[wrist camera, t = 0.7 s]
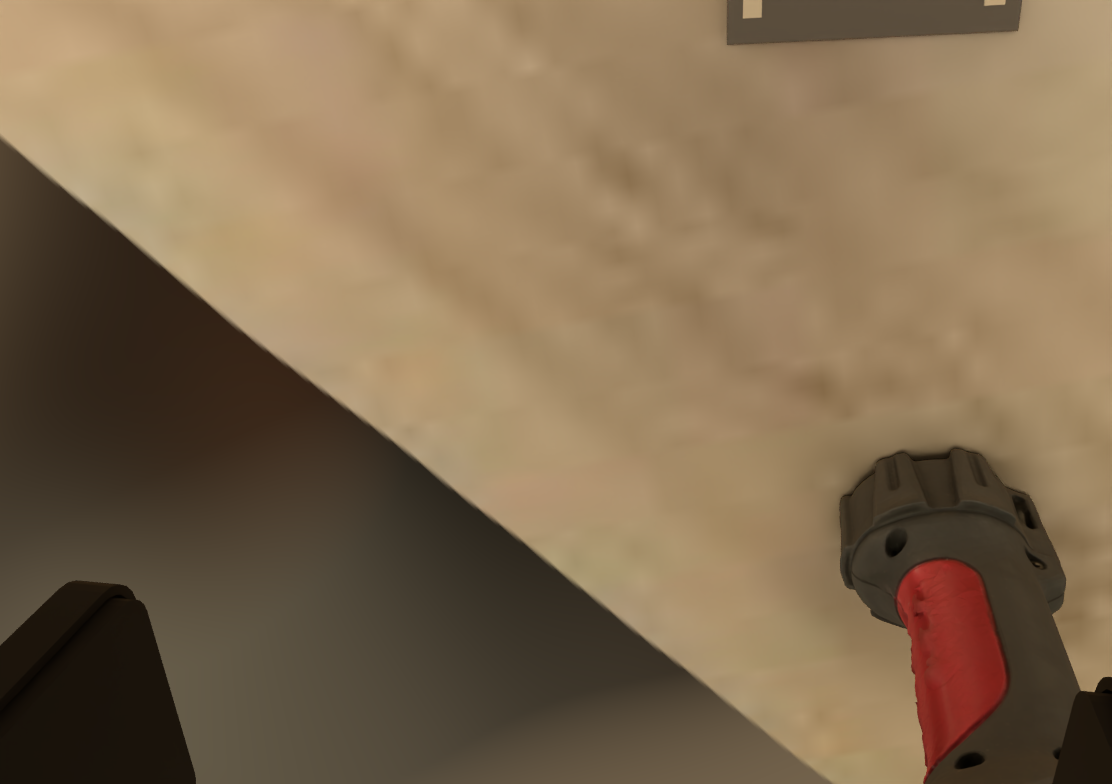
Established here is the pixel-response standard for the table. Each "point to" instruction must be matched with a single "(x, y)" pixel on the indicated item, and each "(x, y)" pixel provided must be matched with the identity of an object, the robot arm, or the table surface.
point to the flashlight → (966, 613)
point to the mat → (864, 19)
